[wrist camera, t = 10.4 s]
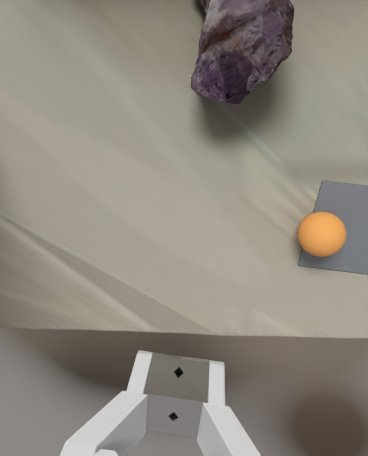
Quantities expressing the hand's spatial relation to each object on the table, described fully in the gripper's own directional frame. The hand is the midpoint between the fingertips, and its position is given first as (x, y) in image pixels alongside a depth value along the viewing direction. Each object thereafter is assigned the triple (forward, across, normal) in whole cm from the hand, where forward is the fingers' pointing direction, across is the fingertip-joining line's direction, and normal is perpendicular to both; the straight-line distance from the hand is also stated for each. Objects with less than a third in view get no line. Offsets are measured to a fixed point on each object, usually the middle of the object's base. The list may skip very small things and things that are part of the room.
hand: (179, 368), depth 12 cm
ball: (+28, -15, +8) cm, 33 cm away
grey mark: (+31, -20, +8) cm, 38 cm away
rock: (+31, -1, -12) cm, 34 cm away
